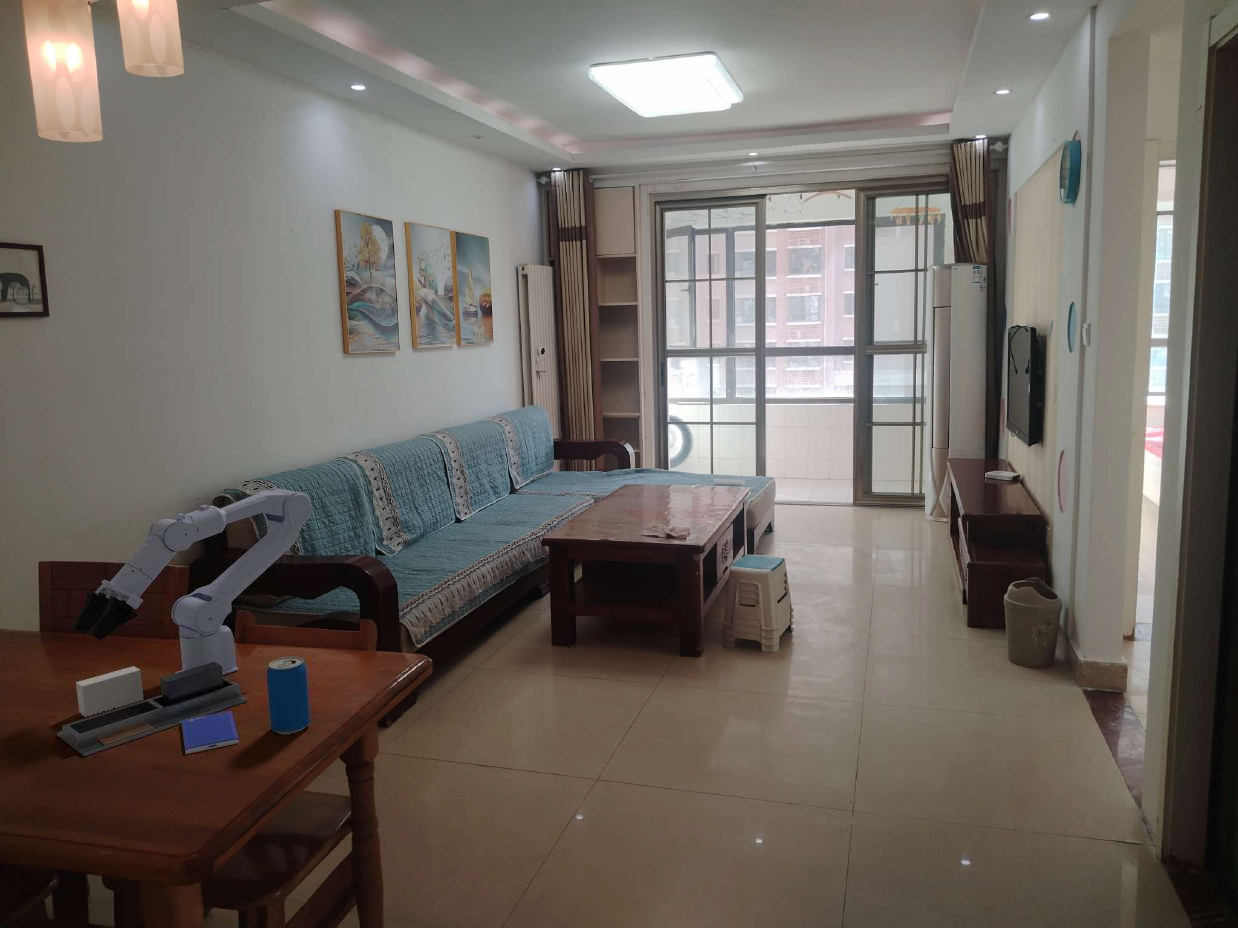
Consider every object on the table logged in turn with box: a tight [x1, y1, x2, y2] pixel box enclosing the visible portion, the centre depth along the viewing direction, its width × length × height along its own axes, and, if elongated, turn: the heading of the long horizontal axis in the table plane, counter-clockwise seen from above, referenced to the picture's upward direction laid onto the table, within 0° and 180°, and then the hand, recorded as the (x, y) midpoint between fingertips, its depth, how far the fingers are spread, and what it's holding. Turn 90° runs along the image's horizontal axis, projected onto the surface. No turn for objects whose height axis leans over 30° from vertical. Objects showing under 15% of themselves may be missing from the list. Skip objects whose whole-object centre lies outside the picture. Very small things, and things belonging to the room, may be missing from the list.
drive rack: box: [57, 662, 249, 757], centre depth 162 cm, size 28×12×7 cm, turn 140°
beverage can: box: [266, 656, 311, 735], centre depth 157 cm, size 6×6×12 cm
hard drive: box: [181, 710, 240, 755], centre depth 156 cm, size 2×8×12 cm
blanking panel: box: [75, 665, 144, 718], centre depth 168 cm, size 10×3×6 cm, turn 140°
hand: (86, 633), depth 165 cm, fingers open, 7 cm apart
